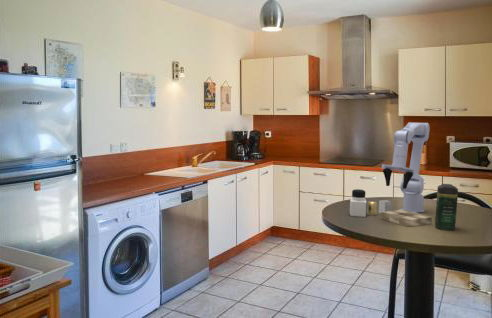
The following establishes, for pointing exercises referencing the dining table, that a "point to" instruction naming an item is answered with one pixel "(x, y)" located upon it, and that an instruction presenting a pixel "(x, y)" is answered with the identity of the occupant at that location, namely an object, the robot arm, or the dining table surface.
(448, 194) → the coffee jar
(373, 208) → the brass round peg
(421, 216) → the bore block
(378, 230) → the dining table surface
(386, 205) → the steel square peg
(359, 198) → the medicine bottle
